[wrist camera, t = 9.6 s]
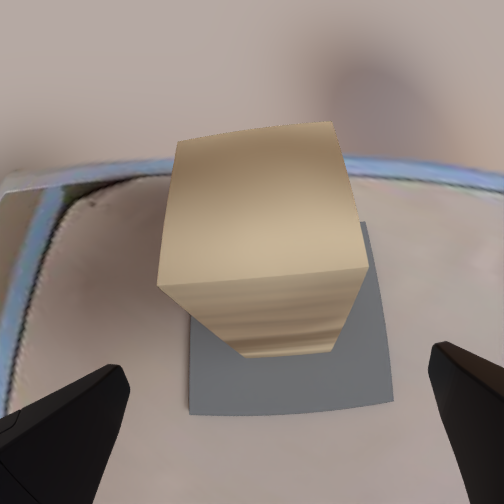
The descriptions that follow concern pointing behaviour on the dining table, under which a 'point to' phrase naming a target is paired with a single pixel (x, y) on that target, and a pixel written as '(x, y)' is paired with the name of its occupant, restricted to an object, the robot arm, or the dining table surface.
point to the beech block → (264, 238)
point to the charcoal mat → (297, 367)
